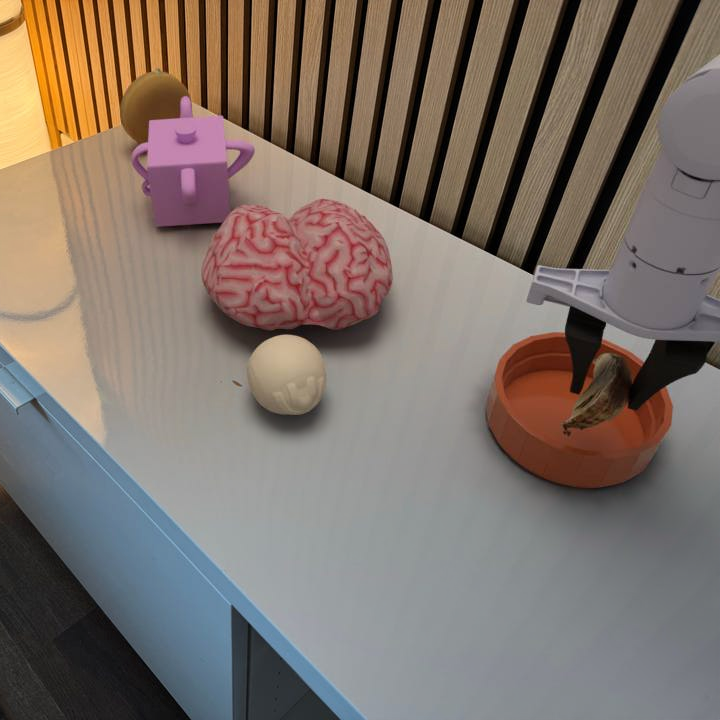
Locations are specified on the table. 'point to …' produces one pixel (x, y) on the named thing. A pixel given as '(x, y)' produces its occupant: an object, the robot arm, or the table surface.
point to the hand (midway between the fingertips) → (605, 392)
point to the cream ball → (287, 375)
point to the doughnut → (151, 102)
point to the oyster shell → (602, 393)
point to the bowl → (555, 406)
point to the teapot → (189, 168)
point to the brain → (298, 267)
